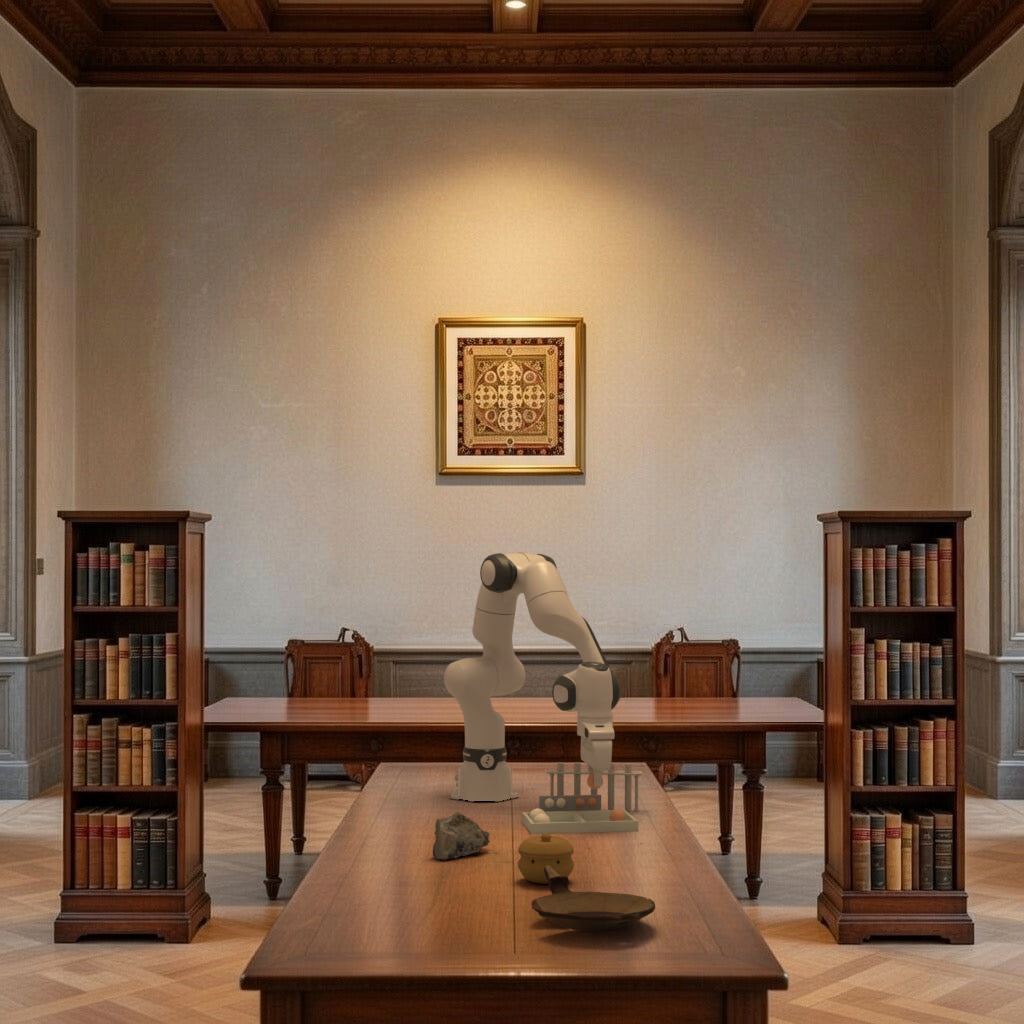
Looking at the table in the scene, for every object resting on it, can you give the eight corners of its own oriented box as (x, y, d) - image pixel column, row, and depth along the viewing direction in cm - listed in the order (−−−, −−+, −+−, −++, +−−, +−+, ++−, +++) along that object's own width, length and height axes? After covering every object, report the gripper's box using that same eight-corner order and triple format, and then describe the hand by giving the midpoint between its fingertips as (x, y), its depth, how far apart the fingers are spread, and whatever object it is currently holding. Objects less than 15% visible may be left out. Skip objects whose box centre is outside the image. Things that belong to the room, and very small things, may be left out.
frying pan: (540, 949, 239) (540, 904, 239) (522, 904, 269) (523, 865, 269) (667, 946, 241) (667, 902, 241) (636, 902, 271) (636, 863, 271)
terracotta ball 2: (607, 824, 344) (607, 807, 345) (623, 823, 345) (623, 807, 345) (611, 827, 341) (611, 810, 341) (627, 826, 341) (627, 810, 341)
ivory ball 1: (528, 823, 345) (528, 807, 345) (544, 822, 346) (544, 806, 346) (530, 826, 341) (531, 810, 341) (546, 826, 342) (546, 809, 342)
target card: (539, 819, 353) (539, 795, 353) (600, 818, 355) (600, 794, 355) (539, 820, 352) (539, 796, 352) (601, 819, 354) (601, 795, 354)
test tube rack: (641, 813, 363) (642, 762, 363) (642, 816, 358) (642, 765, 359) (546, 811, 365) (547, 761, 365) (545, 814, 360) (546, 763, 361)
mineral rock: (489, 851, 316) (489, 807, 316) (491, 862, 305) (491, 816, 305) (432, 851, 315) (433, 807, 315) (432, 862, 304) (432, 816, 305)
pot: (534, 891, 279) (534, 841, 279) (507, 878, 289) (507, 830, 290) (584, 884, 284) (584, 836, 285) (556, 872, 295) (556, 825, 295)
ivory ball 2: (532, 828, 338) (532, 812, 339) (548, 828, 339) (548, 811, 339) (535, 831, 335) (535, 815, 335) (551, 831, 335) (551, 814, 335)
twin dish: (522, 824, 347) (522, 812, 347) (625, 821, 351) (625, 809, 351) (531, 836, 332) (531, 823, 332) (638, 833, 336) (638, 821, 336)
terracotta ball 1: (585, 788, 344) (585, 771, 344) (601, 787, 344) (601, 771, 345) (588, 790, 340) (588, 774, 340) (604, 790, 340) (604, 773, 341)
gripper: (574, 723, 352) (574, 777, 352) (590, 733, 332) (590, 791, 332) (598, 723, 353) (599, 777, 353) (616, 732, 333) (616, 790, 333)
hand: (595, 784), depth 342 cm, fingers closed on terracotta ball 1, 4 cm apart
